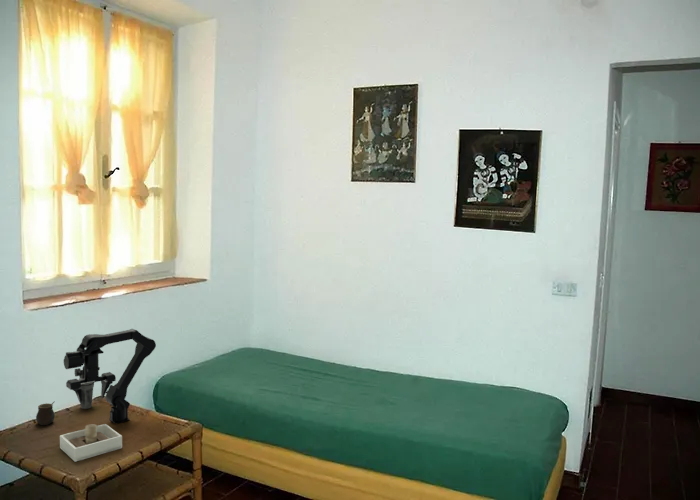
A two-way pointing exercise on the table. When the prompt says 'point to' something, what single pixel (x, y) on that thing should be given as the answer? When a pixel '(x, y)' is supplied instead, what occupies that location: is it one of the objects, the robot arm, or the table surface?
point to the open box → (94, 448)
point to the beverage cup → (86, 395)
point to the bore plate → (82, 440)
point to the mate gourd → (45, 414)
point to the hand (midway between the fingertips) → (91, 400)
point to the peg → (91, 433)
